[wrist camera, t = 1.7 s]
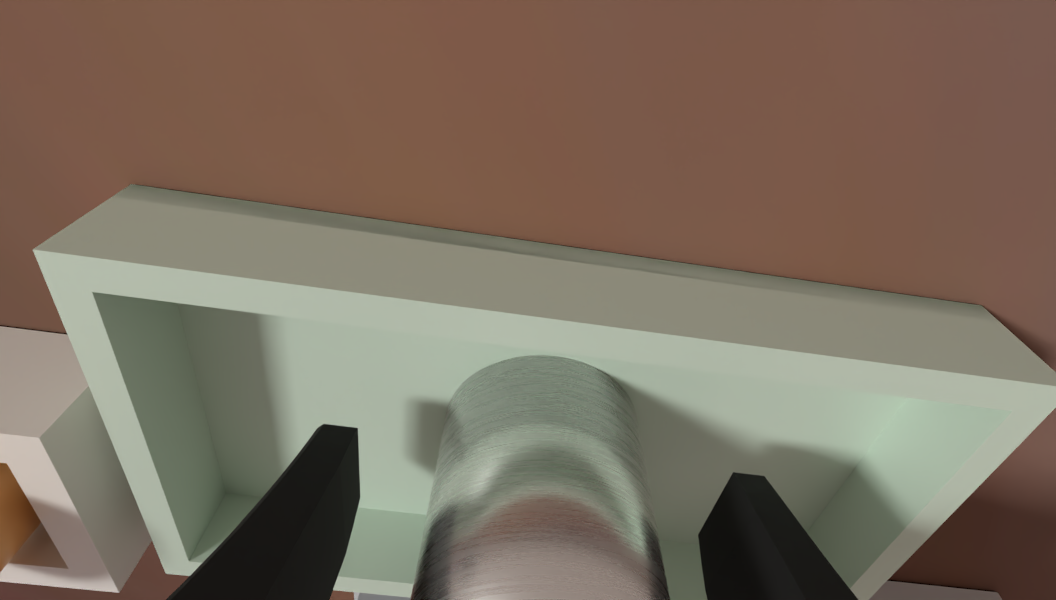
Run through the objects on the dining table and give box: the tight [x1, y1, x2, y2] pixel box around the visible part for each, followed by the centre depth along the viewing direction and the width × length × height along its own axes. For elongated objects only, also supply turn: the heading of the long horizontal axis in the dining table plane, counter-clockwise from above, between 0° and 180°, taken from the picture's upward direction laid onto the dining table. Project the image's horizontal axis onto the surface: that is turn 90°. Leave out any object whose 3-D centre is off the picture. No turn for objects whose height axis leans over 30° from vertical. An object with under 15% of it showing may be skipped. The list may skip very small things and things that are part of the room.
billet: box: [410, 355, 670, 600], centre depth 9 cm, size 4×4×6 cm
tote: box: [33, 184, 1056, 600], centre depth 11 cm, size 8×15×2 cm, turn 81°
